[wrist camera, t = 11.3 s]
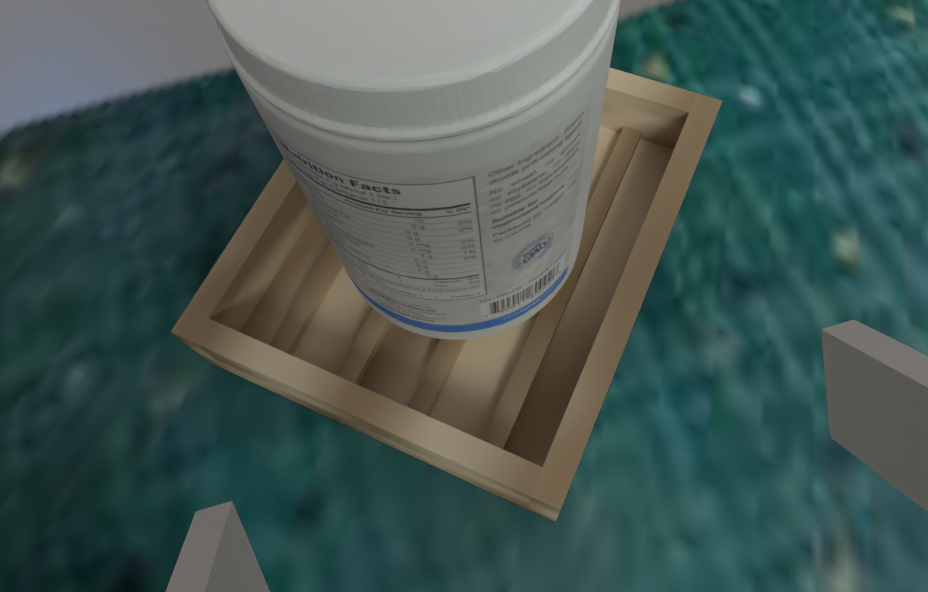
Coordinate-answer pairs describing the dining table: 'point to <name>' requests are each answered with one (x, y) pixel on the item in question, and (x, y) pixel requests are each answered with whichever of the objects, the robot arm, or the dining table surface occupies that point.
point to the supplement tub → (435, 142)
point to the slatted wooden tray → (469, 360)
